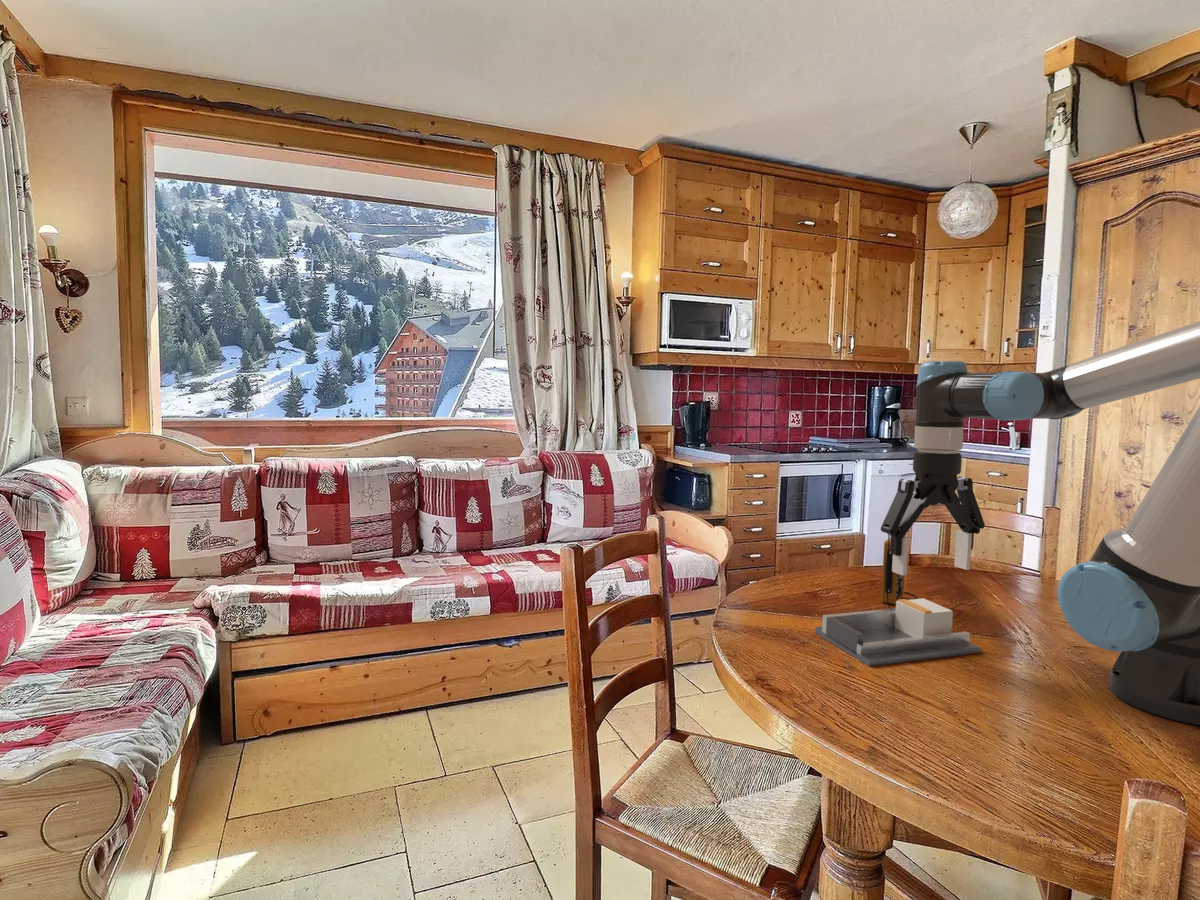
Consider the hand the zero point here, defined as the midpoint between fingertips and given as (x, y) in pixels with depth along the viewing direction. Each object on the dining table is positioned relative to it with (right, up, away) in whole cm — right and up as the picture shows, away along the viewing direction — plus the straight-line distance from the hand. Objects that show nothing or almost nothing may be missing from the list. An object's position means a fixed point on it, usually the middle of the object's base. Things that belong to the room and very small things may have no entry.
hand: (931, 570), depth 118 cm
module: (-1, -11, +1) cm, 12 cm away
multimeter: (+6, -11, +21) cm, 24 cm away
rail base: (-7, -13, 0) cm, 14 cm away
